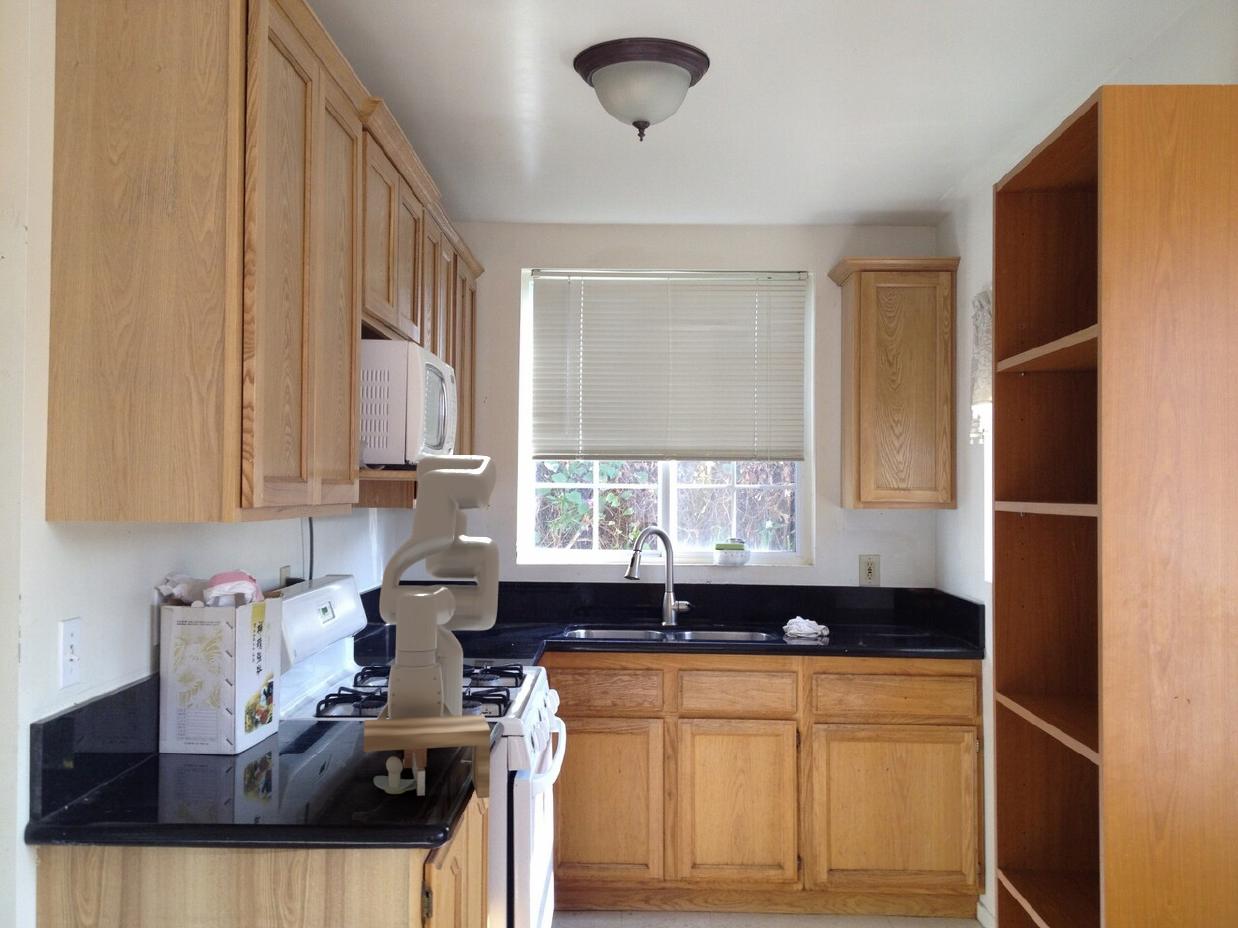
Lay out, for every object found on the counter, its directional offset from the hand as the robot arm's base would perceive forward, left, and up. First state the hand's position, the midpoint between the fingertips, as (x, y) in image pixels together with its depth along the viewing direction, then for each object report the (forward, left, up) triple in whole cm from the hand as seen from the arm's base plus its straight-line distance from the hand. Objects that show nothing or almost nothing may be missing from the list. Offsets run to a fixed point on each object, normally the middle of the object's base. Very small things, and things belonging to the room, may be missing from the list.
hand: (414, 755), depth 177 cm
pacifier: (+10, -3, -3) cm, 11 cm away
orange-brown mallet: (+8, 0, -1) cm, 8 cm away
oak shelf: (+12, +1, -3) cm, 12 cm away
